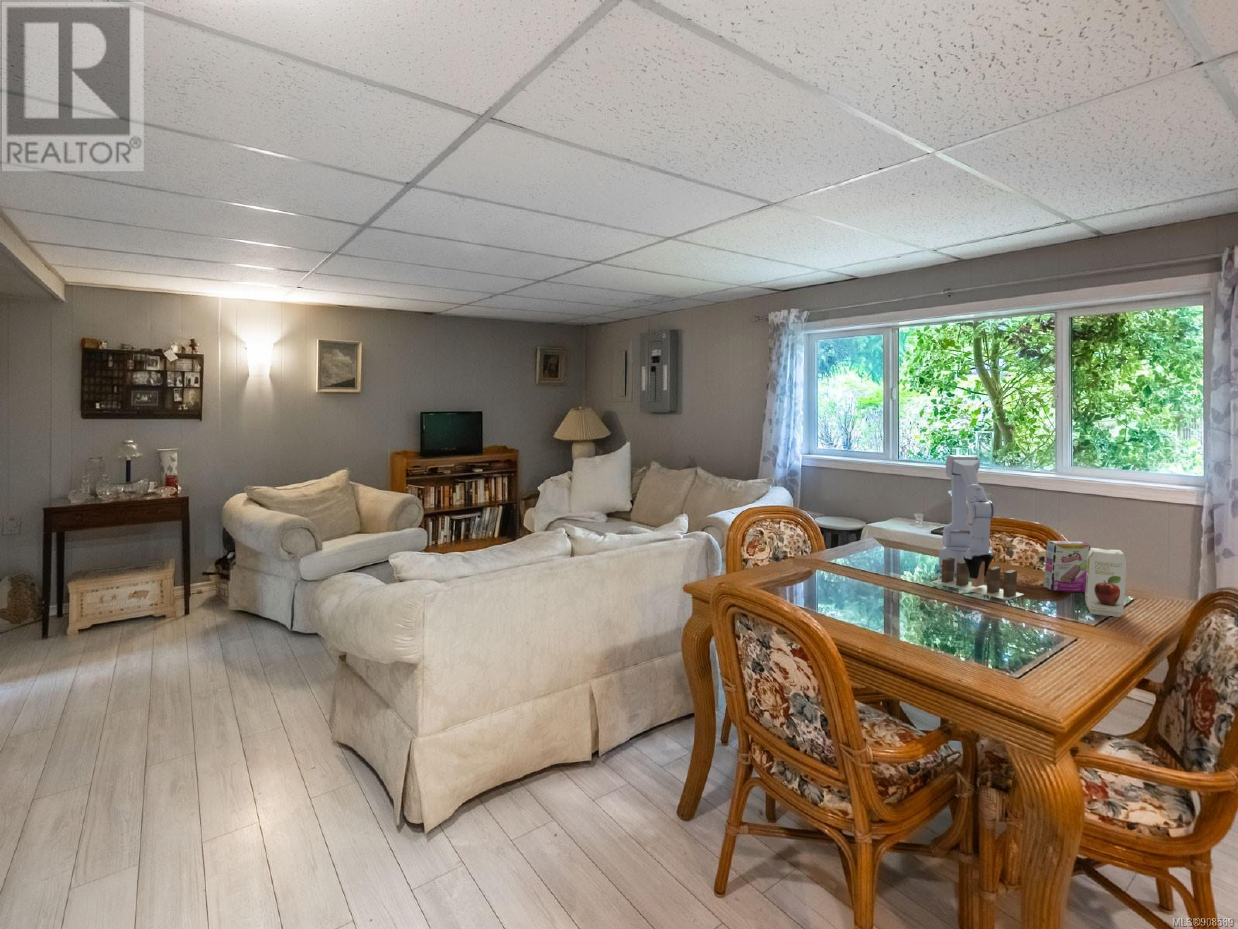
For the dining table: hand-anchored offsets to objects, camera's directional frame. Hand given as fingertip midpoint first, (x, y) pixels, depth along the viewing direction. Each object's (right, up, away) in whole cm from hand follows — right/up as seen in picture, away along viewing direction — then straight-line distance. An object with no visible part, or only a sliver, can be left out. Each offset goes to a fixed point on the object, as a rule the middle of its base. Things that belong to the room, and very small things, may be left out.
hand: (977, 576), depth 203 cm
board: (0, -4, +1) cm, 4 cm away
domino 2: (-3, -4, +5) cm, 6 cm away
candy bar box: (+29, -5, -1) cm, 29 cm away
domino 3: (0, -3, 0) cm, 3 cm away
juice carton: (+23, -7, -24) cm, 34 cm away
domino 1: (-5, -3, +9) cm, 11 cm away
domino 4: (+3, -4, -4) cm, 6 cm away
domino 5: (+5, -5, -8) cm, 11 cm away
